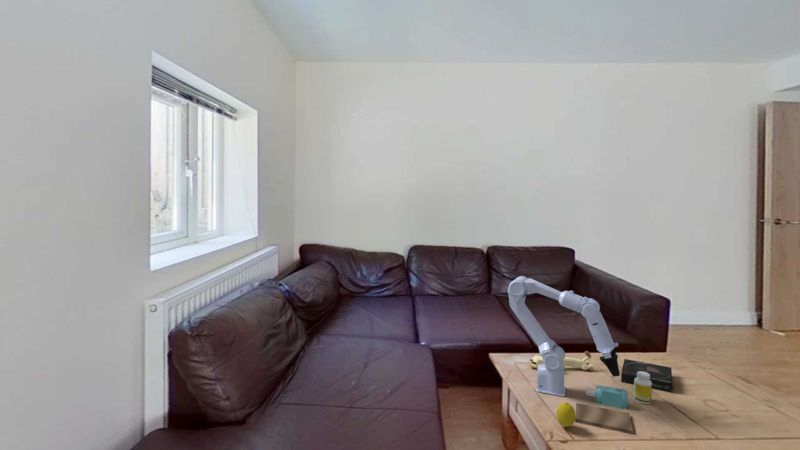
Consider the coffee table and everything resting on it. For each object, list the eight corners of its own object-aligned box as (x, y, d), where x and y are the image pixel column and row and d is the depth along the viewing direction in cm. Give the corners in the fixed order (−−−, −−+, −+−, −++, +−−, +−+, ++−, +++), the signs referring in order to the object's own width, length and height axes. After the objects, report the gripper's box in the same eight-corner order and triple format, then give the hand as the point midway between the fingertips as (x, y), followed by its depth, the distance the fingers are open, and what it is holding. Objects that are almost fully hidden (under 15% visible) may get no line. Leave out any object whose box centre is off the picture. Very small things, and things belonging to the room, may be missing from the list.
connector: (585, 401, 143) (586, 387, 142) (585, 396, 146) (586, 383, 146) (628, 409, 137) (628, 395, 137) (627, 404, 141) (627, 390, 140)
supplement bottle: (653, 405, 140) (654, 377, 139) (636, 403, 141) (637, 376, 140) (647, 397, 145) (648, 371, 145) (631, 396, 146) (632, 369, 146)
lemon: (552, 422, 129) (553, 398, 129) (569, 422, 130) (570, 397, 129) (561, 432, 124) (561, 407, 123) (578, 431, 124) (579, 406, 124)
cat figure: (584, 367, 174) (526, 361, 175) (587, 347, 174) (528, 342, 175) (594, 377, 164) (532, 371, 166) (597, 356, 164) (534, 350, 165)
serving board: (575, 421, 130) (575, 418, 130) (576, 405, 140) (576, 402, 140) (632, 433, 123) (632, 430, 123) (629, 416, 133) (629, 413, 133)
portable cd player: (670, 376, 163) (671, 366, 163) (672, 394, 149) (672, 383, 148) (624, 367, 172) (624, 358, 171) (621, 383, 157) (621, 373, 157)
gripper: (613, 336, 134) (630, 377, 132) (611, 325, 147) (626, 362, 145) (591, 341, 136) (607, 381, 135) (591, 330, 150) (606, 366, 148)
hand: (615, 371), depth 140 cm, fingers open, 7 cm apart
